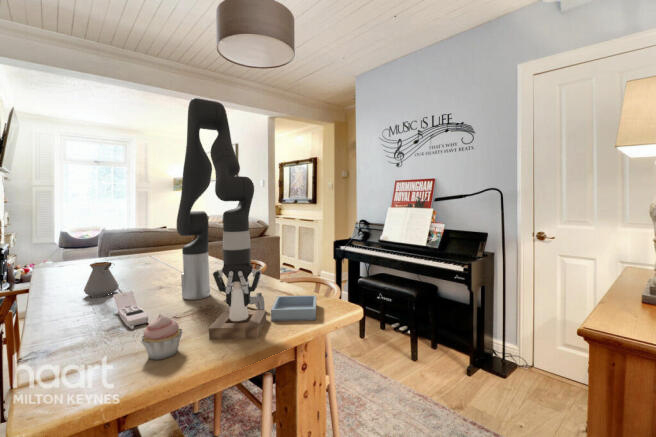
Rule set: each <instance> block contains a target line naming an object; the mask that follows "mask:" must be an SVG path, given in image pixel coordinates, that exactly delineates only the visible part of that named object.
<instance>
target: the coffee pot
mask: <svg viewBox="0 0 656 437" xmlns="http://www.w3.org/2000/svg"><path fill="white" fill-rule="evenodd" d="M112 264H113V265H114V262H110V261H100V262H99V261H98V262H93V263H90V264H89V267H90V268H91V269H92V270H91V272H90V275H89V277H88V279H87V282H86V283H85V286H84V289H83V292H84V293H85V294H86V295H87V296H93V297H92V298H98V297H97V296H104V297H106V296H105V295H108V294H111V293H113V292H114V293H115V292H116V291H117V290H118V289H119V287H120V286H119V283H118V282H117V280H116V279H115V277H114V275H113V273H112V272H111V270H110V269H111V266H112ZM114 293H113V294H114ZM111 295H112V294H111ZM108 296H109V295H108Z"/></svg>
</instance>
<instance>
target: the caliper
mask: <svg viewBox="0 0 656 437" xmlns="http://www.w3.org/2000/svg"><path fill="white" fill-rule="evenodd" d="M223 301H224V302H226V299H223ZM254 304H255V307H256V309H257V310H266V309H265V308H266V307H265V298H264V295H263V294H262V292H256V295H250V303H249V304H248V305H254Z"/></svg>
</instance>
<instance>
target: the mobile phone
mask: <svg viewBox="0 0 656 437" xmlns="http://www.w3.org/2000/svg"><path fill="white" fill-rule="evenodd" d="M112 295H113V299H114V302H115V305H116V308H117V311H118V312H117V313H118V315H120V316H119V317H120V318H121V321H123V324H125V325H126V327H129V329H130V330H132V331H133V330H134V329H135V326H137V325H142V324H147V323H148V322H149V315H148V314H147V313H146V311H145V310H144V309H143V308H142V307H140V306H139V305H138V304H137V302H136V299H135V294H134V292H133V291H132V290H131V291H130V290H129V291H124V292H120V293H119V292H118V293H113V294H112Z"/></svg>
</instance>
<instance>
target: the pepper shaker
mask: <svg viewBox="0 0 656 437" xmlns="http://www.w3.org/2000/svg"><path fill="white" fill-rule="evenodd" d="M244 293H245V292H244V289H243V286H242V284H241V282H233V288H232V290H231V306H229V311H230V313H229V319H230V320H231V321H242V320H246V319H247V318H248V317H249V316H248V311H249V310H248V305H247V306H244Z"/></svg>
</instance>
